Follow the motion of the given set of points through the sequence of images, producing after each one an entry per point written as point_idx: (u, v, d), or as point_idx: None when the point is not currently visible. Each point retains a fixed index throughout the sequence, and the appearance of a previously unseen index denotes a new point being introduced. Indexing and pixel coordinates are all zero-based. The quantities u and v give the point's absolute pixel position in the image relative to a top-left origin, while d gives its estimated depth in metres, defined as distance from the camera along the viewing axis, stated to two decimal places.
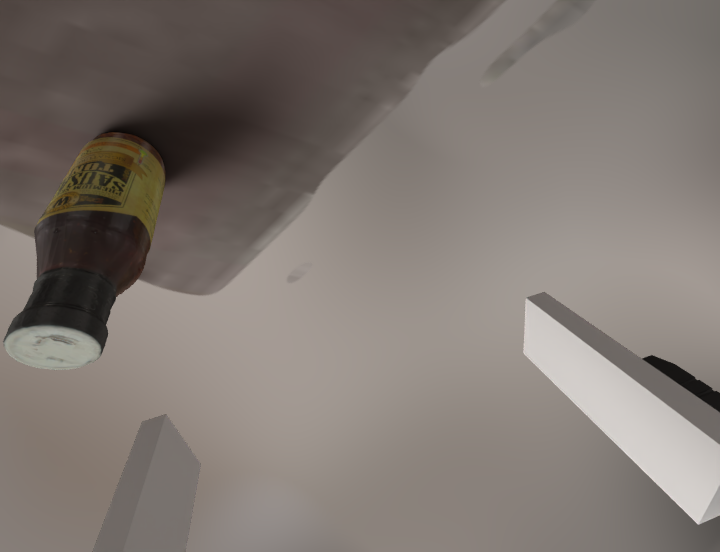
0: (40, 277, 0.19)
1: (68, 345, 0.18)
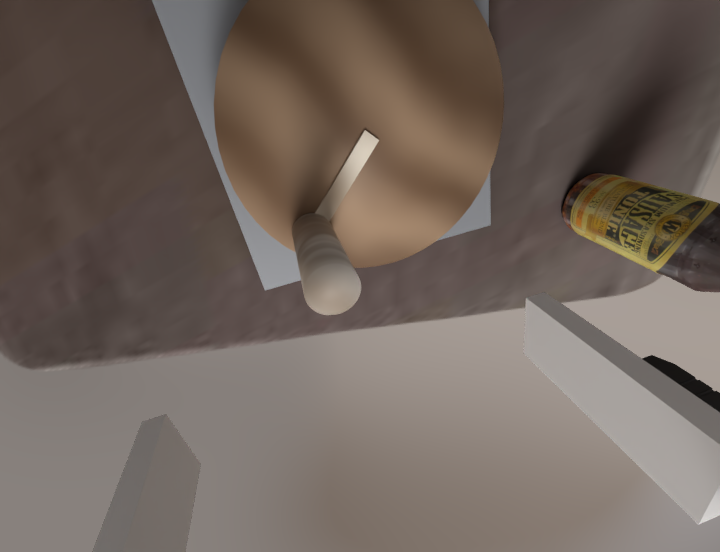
0: None
1: None
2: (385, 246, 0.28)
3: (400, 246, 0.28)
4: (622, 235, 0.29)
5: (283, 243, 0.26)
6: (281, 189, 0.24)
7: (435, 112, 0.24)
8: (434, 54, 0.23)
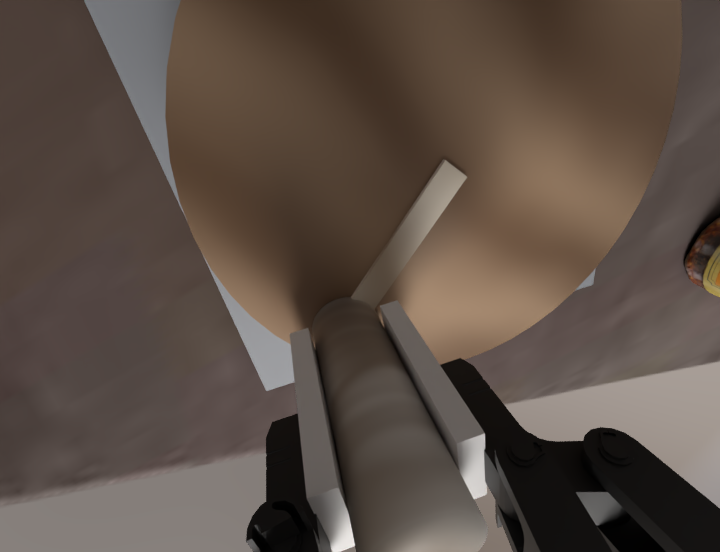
0: None
1: None
2: (458, 337, 0.17)
3: (480, 335, 0.18)
4: None
5: None
6: (295, 263, 0.14)
7: (564, 127, 0.14)
8: (579, 22, 0.12)
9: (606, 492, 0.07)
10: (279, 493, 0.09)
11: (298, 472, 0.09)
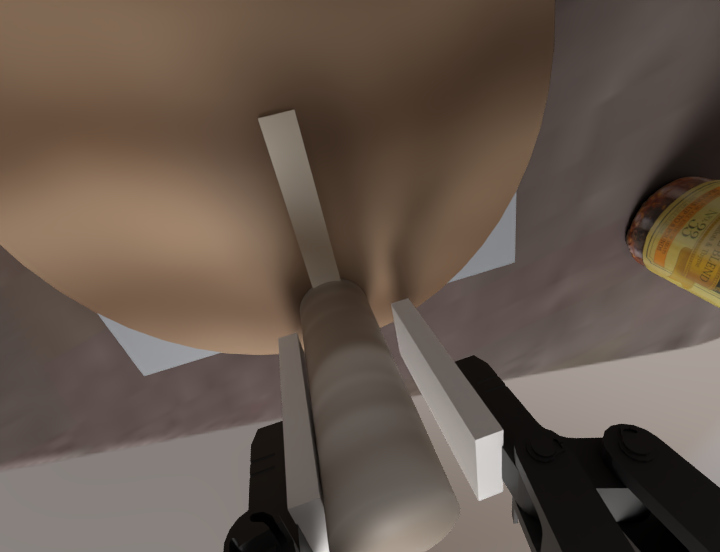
0: None
1: None
2: (451, 236, 0.15)
3: (474, 217, 0.15)
4: None
5: None
6: (243, 300, 0.14)
7: None
8: None
9: (628, 489, 0.07)
10: (262, 503, 0.09)
11: (282, 481, 0.09)
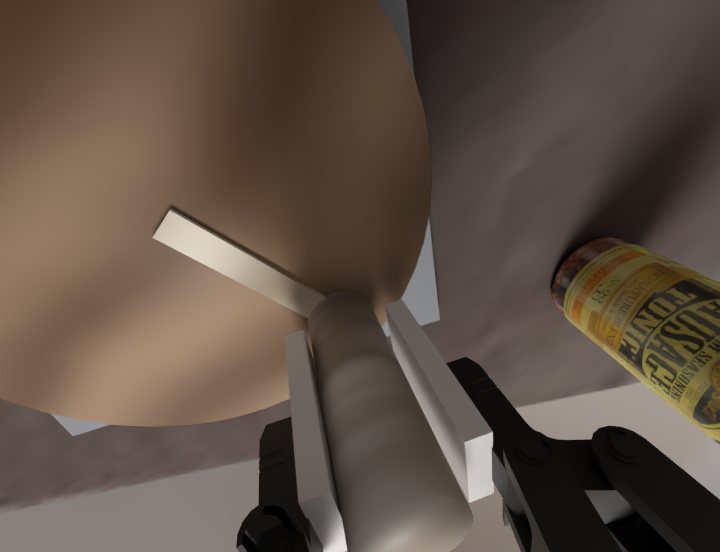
0: None
1: None
2: (393, 194, 0.14)
3: (401, 161, 0.13)
4: (647, 363, 0.17)
5: None
6: (266, 358, 0.16)
7: (84, 63, 0.10)
8: None
9: (615, 491, 0.07)
10: (272, 497, 0.09)
11: (291, 475, 0.09)
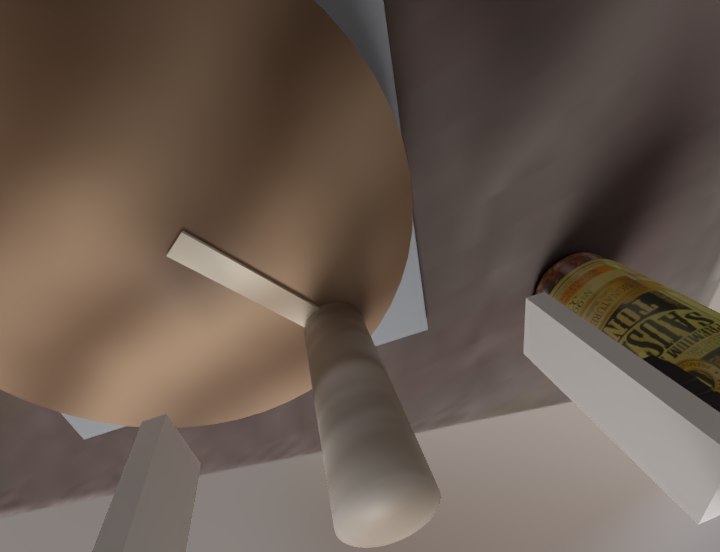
0: None
1: None
2: (378, 216, 0.15)
3: (385, 187, 0.15)
4: None
5: None
6: (265, 364, 0.17)
7: (113, 111, 0.12)
8: None
9: None
10: None
11: None
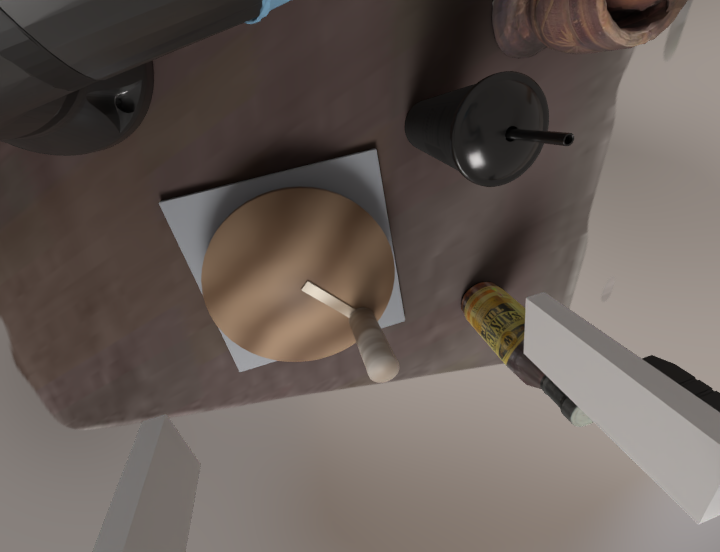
0: (545, 380, 0.34)
1: None
2: (380, 273, 0.38)
3: (383, 262, 0.38)
4: (487, 337, 0.42)
5: None
6: (332, 334, 0.40)
7: (292, 243, 0.35)
8: (256, 247, 0.34)
9: None
10: None
11: None
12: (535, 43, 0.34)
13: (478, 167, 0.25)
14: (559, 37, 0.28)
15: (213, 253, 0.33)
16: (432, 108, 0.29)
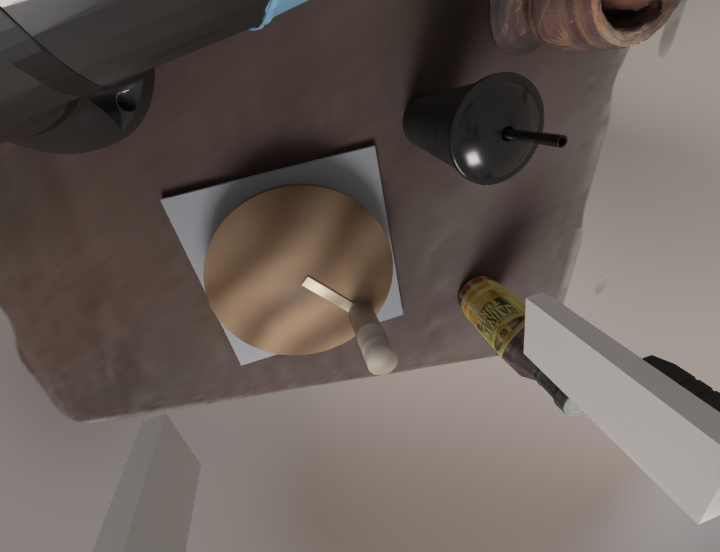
0: (539, 372, 0.35)
1: None
2: (379, 268, 0.39)
3: (382, 257, 0.38)
4: (483, 330, 0.43)
5: None
6: (331, 328, 0.41)
7: (292, 239, 0.35)
8: (257, 243, 0.34)
9: None
10: None
11: None
12: (532, 40, 0.34)
13: (475, 166, 0.26)
14: (555, 36, 0.28)
15: (215, 249, 0.34)
16: (430, 106, 0.30)
